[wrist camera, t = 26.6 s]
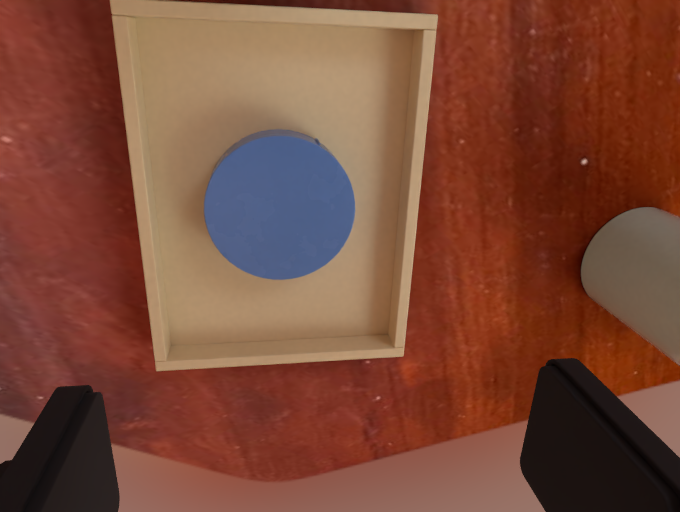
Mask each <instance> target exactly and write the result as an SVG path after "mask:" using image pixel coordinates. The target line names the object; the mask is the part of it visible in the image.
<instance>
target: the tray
mask: <svg viewBox="0 0 680 512" xmlns="http://www.w3.org/2000/svg"><path fill="white" fill-rule="evenodd" d="M110 7H111V13H112V14H113V15H112V23H113V31H114V39H115V47H116V55H117V63H118V71H119V79H120V87H121V95H122V103H123V111H124V119H125V127H126V135H127V143H128V151H129V159H130V167H131V175H132V183H133V191H134V199H135V207H136V215H137V223H138V231H139V239H140V247H141V255H142V263H143V271H144V279H145V287H146V295H147V303H148V311H149V319H150V327H151V335H152V343H153V351H154V359H155V367H156V371H169V370H185V369H202V368H219V367H236V366H252V365H269V364H286V363H302V362H319V361H336V360H352V359H369V358H386V357H402V356H403V355H404V346H405V336H406V326H407V316H408V306H409V297H410V287H411V277H412V267H413V257H414V247H415V237H416V228H417V218H418V208H419V198H420V188H421V178H422V168H423V159H424V149H425V139H426V129H427V119H428V109H429V99H430V90H431V80H432V70H433V60H434V50H435V40H436V29H437V20H438V15H436V14H418V13H399V12H380V11H360V10H341V9H322V8H303V7H284V6H265V5H245V4H226V3H207V2H188V1H169V0H110ZM270 129H285V130H292V131H297V132H300V133H303V134H306V135H308V136H310V137H312V138H314V139H315V138H317V139H318V140H319V142H320V143H321V144H323V145H324V146H325V147H326V148H327V149H328V150H330V151H331V153H332V154H333V155H334V156H335V157H336V159H337V160H338V162H339V163H340V164H341V166H342V167H343V169H344V170H345V172H346V174H347V175H348V178H349V180H350V182H351V185H352V188H353V192H354V197H355V217H354V223H353V227H352V230H351V232H350V235H349V237H348V239H347V241H346V243H345V245H344V246H343V247H342V249H341V250H340V251H339V253H338V254H337V255H336V256H335V257H334V258H333V259H332V260H331V261H330V262H328V263H327V264H326V265H325V266H323V267H321V268H320V269H318V270H316V271H314V272H312V273H310V274H308V275H305V276H302V277H298V278H293V279H285V280H272V279H266V278H261V277H257V276H254V275H251V274H249V273H246V272H244V271H242V270H241V269H239V268H237V267H236V266H234V265H233V264H232V263H230V262H229V261H228V260H227V259H226V258H225V257H224V256H223V255H222V254H221V253H220V252H219V250H218V249H217V248H216V246H215V245H214V243H213V241H212V239H211V237H210V235H209V233H208V230H207V226H206V223H205V217H204V199H205V193H206V189H207V186H208V183H209V180H210V176H211V174H212V171H213V169H214V167H215V165H216V163H217V162H218V160H219V159H220V157H221V156H222V155H223V154H224V153H225V151H226V150H227V149H229V148H230V147H231V146H232V145H233V144H234V143H236V142H237V141H239V140H240V139H242V138H244V137H246V136H248V135H250V134H253V133H256V132H259V131H264V130H270Z"/></svg>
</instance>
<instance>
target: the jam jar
mask: <svg viewBox="0 0 680 512" xmlns="http://www.w3.org/2000/svg"><path fill="white" fill-rule="evenodd" d="M581 280H582V284H583V287H584V289H585V291H586V293H587V294H588V296H589V297H590V298H591V299H592V300H593V301H595V302H596V303H597V304H599V305H600V306H601V307H602V308H604V309H605V310H606V311H608V312H609V313H610V314H612V315H613V316H614V317H616V318H617V319H618V320H620V321H621V322H622V323H624V324H625V325H626V326H628V327H629V328H630V329H631V330H633V331H634V332H635V333H637V334H638V335H639V336H641V337H642V338H643V339H645V340H646V341H647V342H649V343H650V344H651V345H653V346H654V347H655V348H657V349H658V350H659V351H661V352H662V353H663V354H664V355H666V356H667V357H668V358H670V359H671V360H672V361H674V362H675V363H676V364H678V365H679V366H680V217H679V216H676V215H674V214H671V213H669V212H667V211H664V210H662V209H658V208H654V207H643V208H636V209H632V210H629V211H626V212H624V213H622V214H620V215H618V216H616V217H615V218H613V219H612V220H610V221H609V222H608V223H606V224H605V225H604V226H603V227H602V228H601V229H600V230H599V231H598V232H597V233H596V235H595V236H594V237H593V239H592V240H591V242H590V243H589V245H588V247H587V249H586V251H585V254H584V257H583V260H582V265H581Z"/></svg>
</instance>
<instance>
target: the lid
mask: <svg viewBox="0 0 680 512" xmlns="http://www.w3.org/2000/svg"><path fill="white" fill-rule="evenodd" d="M204 217H205V223H206V226H207V230H208V233H209V235H210V237H211V239H212V241H213V243H214V245H215V246H216V248H217V249H218V250H219V252H220V253H221V254H222V255H223V256H224V257H225V258H226V259H227V260H228V261H229V262H230V263H232V264H233V265H234V266H236V267H237V268H239V269H241V270H242V271H244V272H246V273H249V274H251V275H254V276H257V277H261V278H266V279H272V280H285V279H293V278H298V277H302V276H305V275H308V274H310V273H312V272H314V271H316V270H318V269H320V268H321V267H323V266H325V265H326V264H327V263H328V262H330V261H331V260H332V259H333V258H334V257H335V256H336V255H337V254H338V253H339V251H340V250H341V249H342V247H343V246H344V245H345V243H346V241H347V239H348V237H349V235H350V232H351V230H352V227H353V223H354V217H355V197H354V192H353V188H352V185H351V182H350V180H349V178H348V175H347V174H346V172H345V170H344V169H343V167H342V166H341V164H340V163H339V162H338V160H337V159H336V157H335V156H334V155H333V154H332V153H331V151H330V150H328V149H327V148H326V147H325V146H324V145H323V144H321V143H320V142H319V140H318V139H317V138H315V139H314V138H312V137H310V136H308V135H306V134H303V133H300V132H297V131H292V130H285V129H270V130H264V131H259V132H256V133H253V134H250V135H248V136H246V137H244V138H242V139H240V140H239V141H237V142H236V143H234V144H233V145H232V146H231V147H230V148H229V149H227V150H226V151H225V153H224V154H223V155H222V156H221V157H220V159H219V160H218V162H217V163H216V165H215V167H214V169H213V171H212V174H211V176H210V180H209V183H208V186H207V189H206V193H205V199H204Z"/></svg>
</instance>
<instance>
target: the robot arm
mask: <svg viewBox="0 0 680 512" xmlns="http://www.w3.org/2000/svg"><path fill="white" fill-rule="evenodd" d="M520 466H521V470H522V473H523V475H524V477H525V479H526V480H527V482H528V484H529V485H530V487H531V488H532V490H533V492H534V493H535V495H536V497H537V498H538V500H539V501H540V503H541V505H542V506H543V508H544V510H545V511H546V512H680V458H679V457H678V456H677V455H676V454H675V453H674V452H673V451H672V450H671V449H670V448H669V447H668V446H667V445H666V444H665V443H664V442H663V441H662V440H661V439H660V438H659V437H658V436H656V434H655V433H654V432H653V431H651V430H650V429H649V428H648V427H647V426H646V425H645V424H644V423H643V422H642V421H641V420H640V419H639V418H638V417H637V416H636V415H635V414H634V413H633V412H632V411H631V410H630V409H629V408H628V407H627V406H626V405H624V403H623V402H622V401H620V400H619V399H618V398H617V397H616V396H615V395H614V394H613V393H612V392H611V391H610V390H609V389H608V388H607V387H606V386H605V385H604V384H603V383H602V382H601V381H600V380H599V379H598V378H597V377H596V376H595V375H594V374H593V373H592V372H591V371H590V370H589V369H587V368H586V367H585V366H584V365H583V364H582V363H581V362H580V361H579V360H577V359H574V358H568V359H551V360H549V361H548V362H547V363H546V365H545V366H544V367H541V369H540V371H539V374H538V378H537V383H536V388H535V392H534V397H533V402H532V406H531V411H530V415H529V420H528V425H527V430H526V434H525V439H524V443H523V448H522V453H521V457H520ZM118 508H119V488H118V483H117V477H116V471H115V465H114V459H113V454H112V448H111V442H110V436H109V430H108V424H107V418H106V412H105V407H104V401H103V396H102V394H101V393H100V392H93V389H92V388H91V386H89V385H83V386H65V387H58V388H56V390H55V391H54V392H53V394H52V396H51V397H50V399H49V401H48V402H47V404H46V405H45V407H44V409H43V410H42V412H41V414H40V415H39V417H38V419H37V420H36V422H35V423H34V425H33V427H32V428H31V430H30V432H29V433H28V435H27V436H26V438H25V440H24V441H23V443H22V445H21V446H20V448H19V450H18V451H17V453H16V455H15V456H14V458H13V459H12V460H10V461H5V462H3V463H2V464H0V512H118Z"/></svg>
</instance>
